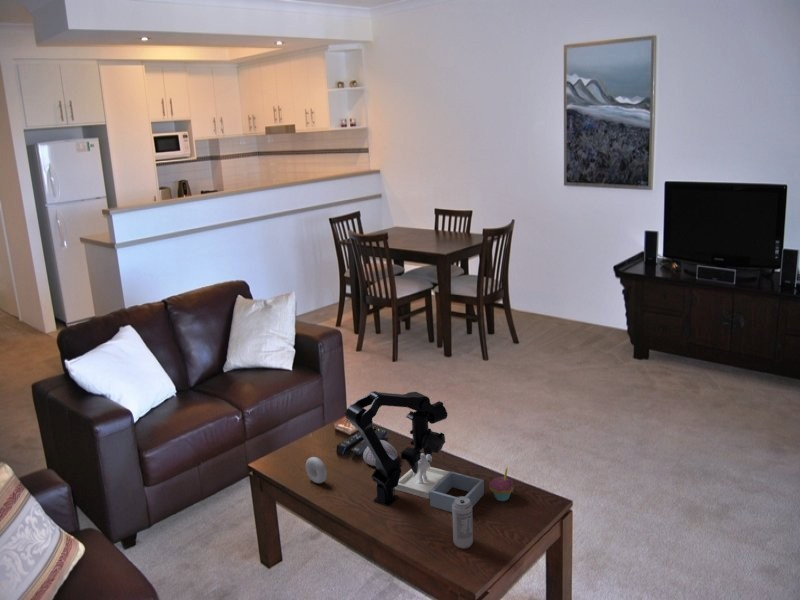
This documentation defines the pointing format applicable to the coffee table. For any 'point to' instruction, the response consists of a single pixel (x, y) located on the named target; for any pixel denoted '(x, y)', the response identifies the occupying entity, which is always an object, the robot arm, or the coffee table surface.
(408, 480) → the tray
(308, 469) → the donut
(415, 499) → the coffee table surface
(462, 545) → the energy drink can
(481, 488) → the deep square frame
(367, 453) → the sea urchin shell
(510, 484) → the cupcake
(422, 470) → the flower shoulder figurine
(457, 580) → the coffee table surface
